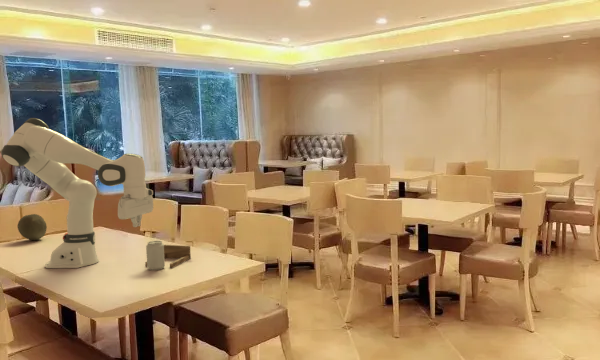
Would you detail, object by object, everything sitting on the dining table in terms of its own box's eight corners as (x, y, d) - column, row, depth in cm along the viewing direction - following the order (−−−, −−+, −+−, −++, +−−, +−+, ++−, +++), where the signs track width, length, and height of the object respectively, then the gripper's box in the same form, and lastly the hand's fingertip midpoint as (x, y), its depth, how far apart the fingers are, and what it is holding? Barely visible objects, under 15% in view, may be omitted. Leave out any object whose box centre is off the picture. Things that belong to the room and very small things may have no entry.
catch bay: (172, 267, 224) (171, 254, 224) (145, 266, 228) (144, 253, 227) (190, 258, 241) (190, 245, 240) (165, 256, 244) (164, 244, 244)
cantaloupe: (39, 236, 298) (37, 211, 297) (52, 239, 290) (50, 213, 289) (14, 241, 287) (12, 215, 286) (26, 244, 279) (24, 217, 277)
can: (159, 271, 219) (158, 243, 218) (144, 270, 221) (142, 243, 220) (167, 266, 227) (166, 240, 225) (152, 265, 228) (151, 239, 227)
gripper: (126, 196, 197) (128, 231, 198) (155, 190, 217) (156, 222, 218) (112, 196, 199) (114, 231, 200) (142, 190, 218) (143, 221, 220)
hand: (136, 226), depth 209 cm, fingers closed
